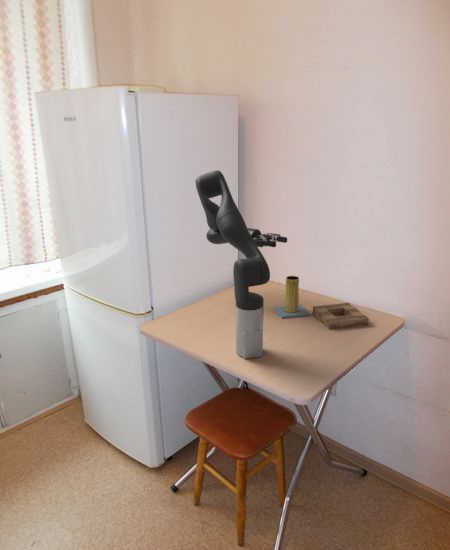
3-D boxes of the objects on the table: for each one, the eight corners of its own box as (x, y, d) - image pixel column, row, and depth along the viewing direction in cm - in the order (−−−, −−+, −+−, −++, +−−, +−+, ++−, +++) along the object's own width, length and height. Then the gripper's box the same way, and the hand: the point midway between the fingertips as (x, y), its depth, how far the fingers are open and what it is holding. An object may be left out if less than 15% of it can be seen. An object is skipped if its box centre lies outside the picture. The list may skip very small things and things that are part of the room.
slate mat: (309, 315, 173) (310, 313, 173) (282, 318, 171) (282, 316, 170) (300, 306, 182) (300, 304, 182) (274, 309, 180) (274, 306, 180)
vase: (301, 309, 176) (303, 277, 172) (293, 314, 172) (294, 281, 167) (289, 306, 180) (290, 274, 176) (281, 310, 176) (281, 278, 171)
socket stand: (368, 325, 164) (368, 318, 163) (329, 329, 160) (330, 322, 159) (348, 309, 178) (348, 302, 177) (312, 313, 175) (312, 306, 174)
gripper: (237, 231, 170) (272, 236, 161) (257, 225, 181) (290, 229, 171) (237, 249, 173) (271, 255, 163) (257, 242, 183) (290, 247, 174)
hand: (281, 242), depth 167 cm, fingers open, 8 cm apart
